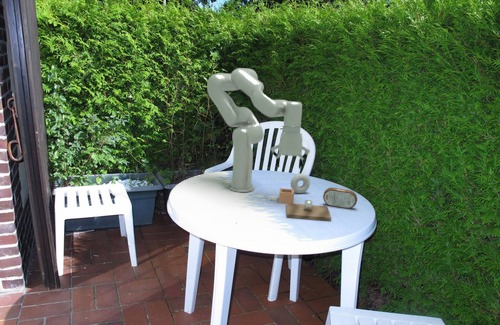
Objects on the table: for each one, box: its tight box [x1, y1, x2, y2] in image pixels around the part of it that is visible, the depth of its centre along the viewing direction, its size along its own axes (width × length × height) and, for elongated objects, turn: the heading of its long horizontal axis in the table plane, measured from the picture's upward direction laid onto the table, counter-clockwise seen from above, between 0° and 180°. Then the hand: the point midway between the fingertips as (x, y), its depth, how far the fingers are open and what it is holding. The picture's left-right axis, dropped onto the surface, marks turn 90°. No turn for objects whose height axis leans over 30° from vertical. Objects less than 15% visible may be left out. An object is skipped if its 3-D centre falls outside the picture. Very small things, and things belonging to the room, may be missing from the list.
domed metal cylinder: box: [304, 199, 313, 212], centre depth 165 cm, size 3×3×4 cm
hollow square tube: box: [278, 187, 295, 204], centre depth 180 cm, size 6×6×5 cm
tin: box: [322, 186, 358, 210], centre depth 176 cm, size 15×3×8 cm, turn 71°
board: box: [285, 203, 332, 222], centre depth 166 cm, size 18×14×2 cm
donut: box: [290, 173, 311, 194], centre depth 192 cm, size 10×4×10 cm, turn 104°
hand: (289, 167), depth 176 cm, fingers open, 9 cm apart
